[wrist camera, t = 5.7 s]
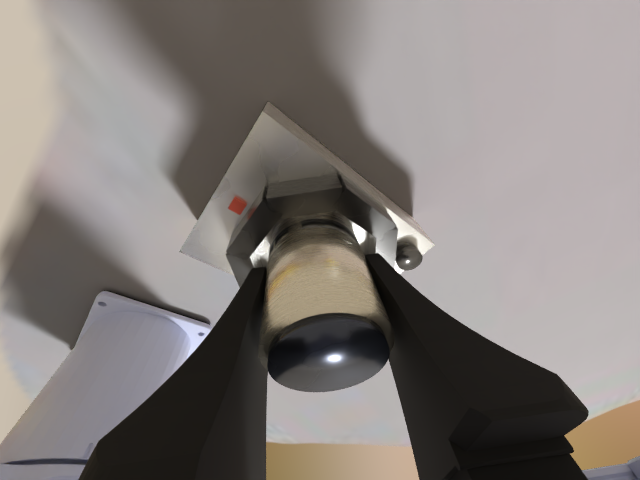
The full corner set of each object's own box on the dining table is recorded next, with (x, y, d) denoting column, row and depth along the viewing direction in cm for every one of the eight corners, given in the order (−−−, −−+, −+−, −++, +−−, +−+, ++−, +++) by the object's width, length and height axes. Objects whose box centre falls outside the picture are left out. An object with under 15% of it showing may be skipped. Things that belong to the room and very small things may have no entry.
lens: (357, 265, 14) (397, 382, 9) (282, 280, 14) (278, 404, 9) (350, 197, 12) (401, 303, 6) (259, 215, 12) (234, 335, 6)
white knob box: (335, 289, 19) (345, 341, 16) (197, 221, 15) (167, 272, 11) (413, 218, 16) (448, 262, 13) (268, 101, 12) (258, 118, 8)
